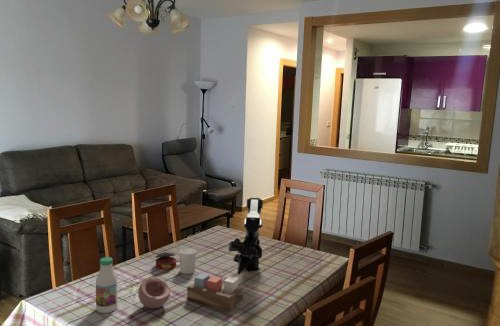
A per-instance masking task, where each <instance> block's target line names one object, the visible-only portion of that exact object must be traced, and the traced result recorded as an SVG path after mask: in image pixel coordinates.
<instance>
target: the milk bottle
mask: <svg viewBox="0 0 500 326" xmlns="http://www.w3.org/2000/svg"><path fill="white" fill-rule="evenodd" d="M113 259H114V258H112V257H111V256H109V257H108V256H107V257H106V256H105V257H102V258H100V259H99V266H100V267H99V271H98V274H97V276H96V278H95V307H96V308H95V309H96V311H97V313H100V314H109V312H110V313H112V311H113V312H114V311H116V310H117V309H116V308H118V276H117V273H116V272H115V270H114V266H113V261H114V260H113Z"/></svg>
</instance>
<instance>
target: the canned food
mask: <svg viewBox="0 0 500 326" xmlns="http://www.w3.org/2000/svg"><path fill="white" fill-rule="evenodd" d="M175 256H176V254H175V253H172V252H160V253H158V254H157V255H156V256H155V258H156V259H155V268H156V269H158V270H163V271H165V270H166V271H167V270H172V269H174V268H176V266H177V259H176V258H175Z"/></svg>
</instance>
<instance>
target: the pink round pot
mask: <svg viewBox="0 0 500 326" xmlns="http://www.w3.org/2000/svg"><path fill="white" fill-rule="evenodd" d="M137 292H138V300H139V302H140V303H141V304H142V306H144V307H145V308H148V309H159V308H161V307H162V306H163V307H164V305H165V304H166V303H167V302H168V300H169V298H170V296H171V289H170V287H169V285H168V284H167V282H165V281H164V280H163V279H161V278H158V277H148V278H145V279H144V280H143V281H142V283H141V284H140V285H139V288H138V291H137Z"/></svg>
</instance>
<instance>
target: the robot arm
mask: <svg viewBox="0 0 500 326" xmlns="http://www.w3.org/2000/svg"><path fill="white" fill-rule="evenodd" d="M263 204H264V200H263V199H261V198H260V197H257V196H256V197H255V196H252V197H249V198H248V199H246V209H247V213H246V217H245V218H244V223H243V224H244V225H243V226H244V228H245V234H246V235H245V236H244V238H243V241H241V240H240V238H237V237H235V239H234V240H231V241H230V242H229V244H228V251H229V252H237V254H235V255H234V257H233V260H232V261H233V262H236V263H237V265H238V266H237V273H236V274H238V275H241V274H242V273H243V271H244V270H246V271H247V272H255V271H259V270H261V267H259V266H260V265H259V262H260V259H261V258H263V249H262V246H261V245H260V242H261V241H260V239H259V237H260V231H259V229H261V228H262V227H263V221H262V218H261V213H262V209H263V208H264V207H263Z"/></svg>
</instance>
